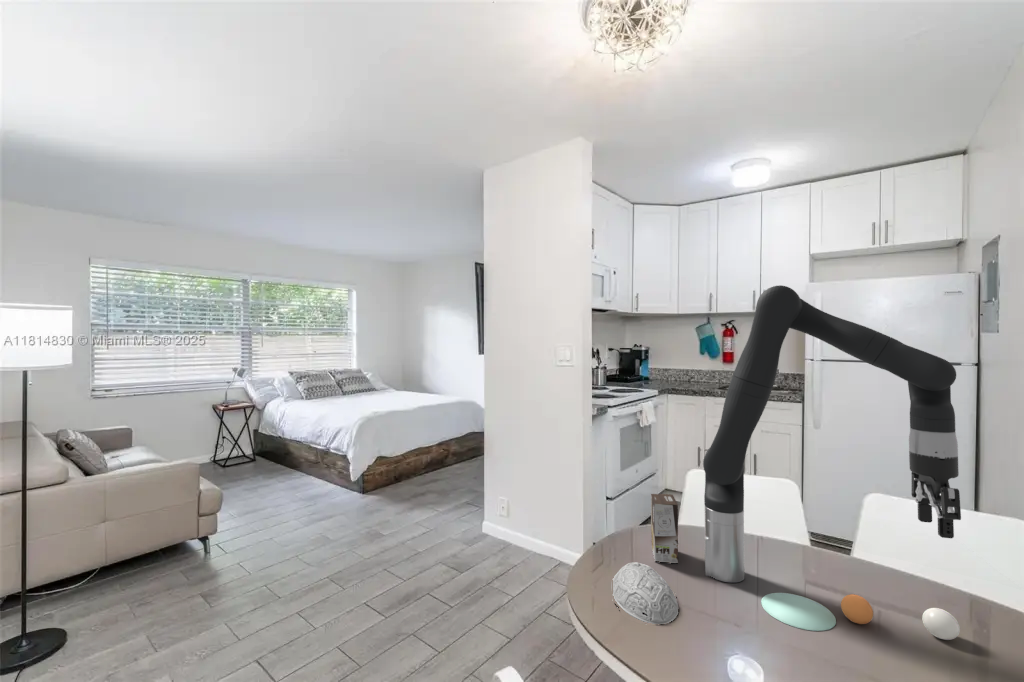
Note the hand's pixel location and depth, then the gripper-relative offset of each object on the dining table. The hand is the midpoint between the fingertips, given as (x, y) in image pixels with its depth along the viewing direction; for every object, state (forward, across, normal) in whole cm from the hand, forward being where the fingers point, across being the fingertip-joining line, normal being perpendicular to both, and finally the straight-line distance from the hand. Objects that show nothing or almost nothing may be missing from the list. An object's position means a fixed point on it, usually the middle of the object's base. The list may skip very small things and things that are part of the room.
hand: (935, 529), depth 95 cm
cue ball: (+18, +3, -1) cm, 18 cm away
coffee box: (+20, -14, -55) cm, 60 cm away
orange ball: (+18, +3, -15) cm, 23 cm away
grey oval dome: (+21, +8, -59) cm, 63 cm away
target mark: (+20, +3, -26) cm, 33 cm away
